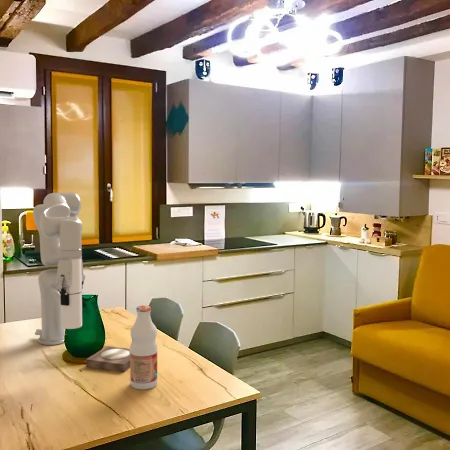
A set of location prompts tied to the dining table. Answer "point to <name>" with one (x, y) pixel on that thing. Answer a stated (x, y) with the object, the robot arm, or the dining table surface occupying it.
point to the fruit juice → (143, 351)
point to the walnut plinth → (110, 359)
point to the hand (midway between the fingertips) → (71, 302)
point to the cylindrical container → (73, 299)
